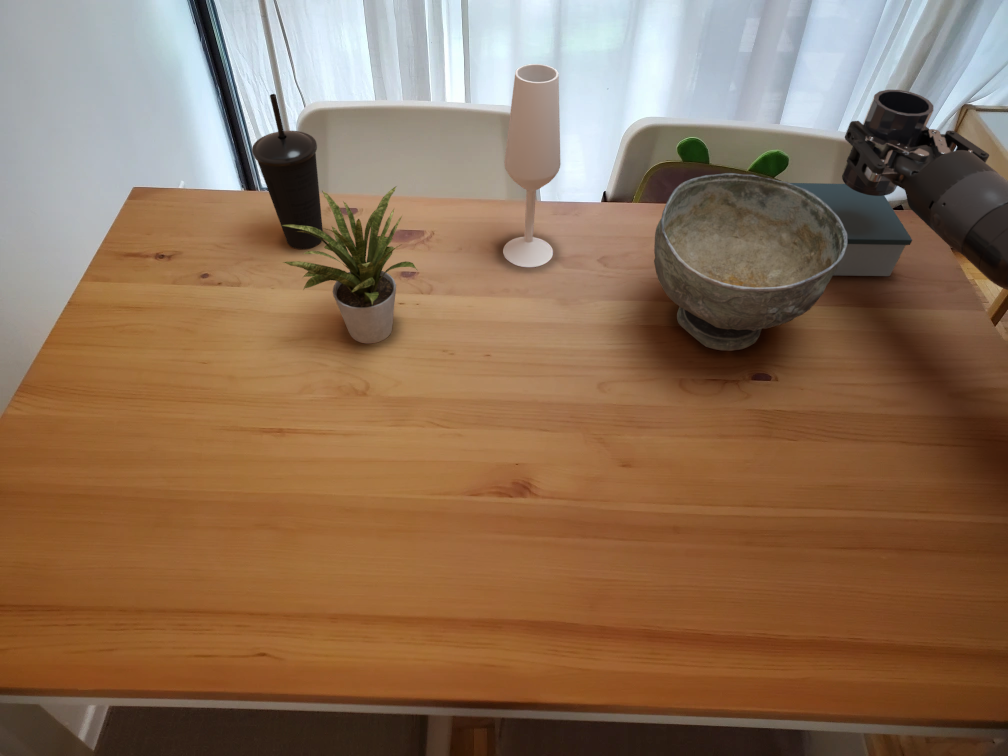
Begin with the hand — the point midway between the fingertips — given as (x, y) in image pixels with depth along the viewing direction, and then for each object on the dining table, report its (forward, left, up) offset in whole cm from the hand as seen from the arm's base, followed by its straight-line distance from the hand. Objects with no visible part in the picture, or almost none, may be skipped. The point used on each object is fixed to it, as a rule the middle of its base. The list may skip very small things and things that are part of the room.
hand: (877, 126), depth 84 cm
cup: (-1, +2, -6) cm, 6 cm away
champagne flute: (+40, +1, -18) cm, 44 cm away
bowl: (+17, +15, -18) cm, 29 cm away
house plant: (+59, +15, -18) cm, 64 cm away
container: (-1, -1, -18) cm, 18 cm away
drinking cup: (+70, -1, -18) cm, 72 cm away
